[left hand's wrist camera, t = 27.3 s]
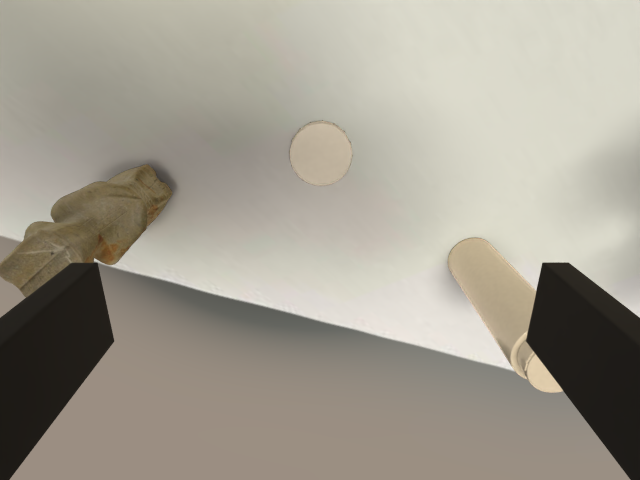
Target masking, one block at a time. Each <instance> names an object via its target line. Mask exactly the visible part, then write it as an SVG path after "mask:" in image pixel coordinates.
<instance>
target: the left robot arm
mask: <svg viewBox="0 0 640 480" xmlns="http://www.w3.org/2000/svg"><path fill="white" fill-rule="evenodd" d="M113 342H114V338H113V333H112V329H111V324H110V319H109V314H108V310H107V305H106V301H105V296H104V291H103V287H102V282H101V277H100V272H99V268H98V263H70V264H69V265H68V266H67V267H65V268H64V269H63V270H61V271H60V272H59V273H58V274H56V275H55V276H54V277H52V278H51V279H50V280H48V281H47V282H46V283H45V284H43V285H42V286H41V287H39V288H38V289H37V290H36V291H34V292H33V293H32V294H30V295H29V296H28V297H27V298H25V299H24V300H23V301H21V302H20V303H19V304H18V305H16V306H15V307H14V308H12V309H11V310H10V311H9V312H7V313H6V314H5V315H3V316H2V317H1V318H0V480H9V479H10V478H11V477H12V475H13V474H14V473H15V471H16V470H17V469H18V468H19V466H20V465H21V464H22V462H23V461H24V460H25V458H26V457H27V456H28V454H29V453H30V452H31V450H32V449H33V448H34V446H35V445H36V444H37V442H38V441H39V440H40V439H41V437H42V436H43V435H44V433H45V432H46V431H47V429H48V428H49V427H50V425H51V424H52V423H53V421H54V420H55V419H56V417H57V416H58V415H59V413H60V412H61V411H62V409H63V408H64V407H65V406H66V404H67V403H68V401H69V400H70V399H71V398H72V396H73V395H74V394H75V392H76V391H77V390H78V388H79V387H80V386H81V384H82V383H83V382H84V380H85V379H86V378H87V376H88V375H89V374H90V372H91V371H92V370H93V368H94V367H95V366H96V365H97V363H98V362H99V361H100V359H101V358H102V357H103V355H104V354H105V353H106V351H107V350H108V349H109V347H110V346H111V345H112V344H113ZM526 342H527V344H528V345H529V346H530V347H531V349H532V350H533V351H534V353H535V354H536V355H537V357H538V358H539V359H540V361H541V362H542V363H543V365H544V366H545V367H546V369H547V370H548V371H549V373H550V374H551V375H552V377H553V378H554V379H555V380H556V382H557V383H558V384H559V386H560V387H561V388H562V390H563V391H564V392H565V394H566V395H567V396H568V398H569V399H570V400H571V401H572V403H573V404H574V406H575V407H576V408H577V409H578V411H579V412H580V413H581V415H582V416H583V417H584V419H585V420H586V421H587V423H588V424H589V425H590V427H591V428H592V429H593V431H594V432H595V433H596V435H597V436H598V437H599V439H600V440H601V441H602V442H603V444H604V445H605V446H606V448H607V449H608V450H609V452H610V453H611V454H612V456H613V457H614V458H615V460H616V461H617V462H618V464H619V465H620V466H621V468H622V469H623V470H624V471H625V473H626V474H627V475H628V477H629V478H630V479H631V480H640V318H639V317H638V316H637V315H635V314H634V313H633V312H631V311H630V310H629V309H628V308H626V307H625V306H624V305H622V304H621V303H620V302H619V301H617V300H616V299H615V298H613V297H612V296H611V295H610V294H608V293H607V292H606V291H604V290H603V289H602V288H601V287H599V286H598V285H597V284H595V283H594V282H593V281H592V280H590V279H589V278H588V277H586V276H585V275H584V274H582V273H581V272H580V271H579V270H577V269H576V268H575V267H573V266H572V265H571V264H570V263H542V268H541V272H540V277H539V282H538V286H537V291H536V296H535V300H534V305H533V310H532V314H531V319H530V324H529V328H528V333H527V338H526Z"/></svg>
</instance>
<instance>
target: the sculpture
mask: <svg viewBox="0 0 640 480" xmlns="http://www.w3.org/2000/svg"><path fill="white" fill-rule="evenodd" d="M171 195H172V191H171V189H170V188H169V187H168V185H167V184H166V183H163V182H160V180H159V179H158V178H157V177H156V172H155V171H154V170H153V169H152V168H151V167H150V166H149V165H147V164H146V165H143V166H140V167H136V168H133V169H129V170H127V171H124V172H122V173H120V174H118V175H116V176H115V177H113V178H111V179H110V180H108V181H107V182H95V183H92V184H90V185H88V186H86V187H84V188H82V189H80V190H78V191H76V192H73V193H71V194H68V195H66V196H64V197H62V198H61V199H59V200H58V201H57V202H56V203H55V204H54V206H53V207H52V209H51V217H52V219H53V220H54V222H55V223H53V222H43V221H40V222H34V223H32V224H31V225H30V226H29V227H28V228H27V229H26V232H25V236H24V240H23V242H21V243H20V244H19V245H18V246H17V247H16V248H15V249H14V250H13V251H12V252H11V253H10V254H9V255H8V256H7V257H6V258H5V259H4V260H3V261H2V262H1V263H0V276H1V277H2V278H3V279H4V280H5V281H7V282H10V283H12V284H13V285H15V286H16V287H18V288H19V290H20V291H21V292H22V294H23V295H24V296H25V297H26V298H27V297H28V296H29V295H30V294H32V293H33V292H34V291H36V290H37V289H38V288H39V287H41V286H42V285H43V284H45V283H46V282H47V281H48V280H50V279H51V278H52V277H54V276H55V275H56V274H58V273H59V272H60V271H61V270H63V269H64V268H65V267H67V266H68V265H69V264H70V263H93V262H94V258H95V259H97V260H99V261H100V262H102V263H105V264H107V265H113V264H116V263H117V262H118V261H119V260H120V258H121V257H122V256H123V255H124V254H125V252H126V251H127V250H128V249H129V248H130V247H131V245H132V244H133V243H134V242H135V241H136V240H137V239H138V238H139V237H140V235H141V234H142V233H143V232H144V231H145V230H146V228H147V226H148V225H149V224H150V223H151V222H153V221H154V220H155V219H156V217H157V216H158V215H159V214H160V212H161V211H162V210H163V208H164V207H165V205H166V203H167V201H168V200H169V198H170V197H171Z"/></svg>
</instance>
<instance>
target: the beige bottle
mask: <svg viewBox="0 0 640 480" xmlns="http://www.w3.org/2000/svg"><path fill="white" fill-rule="evenodd" d="M448 267H449V270H450V272H451V273H452V275H453V276H454V278H455V279H456V281H457V282H458V284H459V285H460V287H461V289H462V290H463V292H464V293H465V295H466V296H467V298H468V299H469V301H470V303H471V304H472V306H473V307H474V309H475V310H476V312H477V313H478V315H479V316H480V318H481V320H482V321H483V323H484V324H485V326H486V327H487V329H488V330H489V332H490V333H491V335H492V337H493V338H494V340H495V341H496V343H497V344H498V346H499V347H500V349H501V350H502V352H503V354H504V355H505V357H506V358H507V360H508V361H509V363H510V364H511V366H512V367H513V369H514V370H515V372H516V373H517V374H518V375H520V376H521V377H523V378H525V379H528V380H529V382H530V383H531V384H532V385H533V386H534V387H535V388H537V389H538V390H541V391H544V392H561V391H563V390H562V388H561V387H560V386H559V384H558V383H557V382H556V380H555V379H554V378H553V377H552V375H551V374H550V373H549V371H548V370H547V369H546V367H545V366H544V365H543V363H542V362H541V361H540V359H539V358H538V357H537V355H536V354H535V353H534V351H533V350H532V349H531V347H530V346H529V345H528V344H527V342H526V338H527V333H528V328H529V324H530V319H531V314H532V310H533V305H534V300H535V296H536V290H535V289H534V288H533V287H532V286H531V285H530V284H529V283H528V282H527V281H526V280H525V279H524V278H523V277H522V276H521V275H520V274H519V273H518V272H517V271H516V270H515V269H514V268H513V267H512V266H511V264H510V263H509V262H508V261H507V260H506V259H505V258H504V257H503V256H502V255H501V254H500V253H499V252H498V251H497V250H496V249H495V248H494V247H493V246H492V245H491V244H490V243H489V242H487V241H486V240H484V239H480V238H469V239H465V240H463V241H461V242H459V243H458V244H457V245H456V246H455V247H454V248H453V249H452V251H451V252H450V254H449V257H448Z"/></svg>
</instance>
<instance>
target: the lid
mask: <svg viewBox="0 0 640 480" xmlns="http://www.w3.org/2000/svg"><path fill="white" fill-rule="evenodd" d="M289 154H290V161H291V166H292V167H293V169H294V171H295V173H296V174H297V175H298V176H299V177H300V178H301V179H302V180H304V181H305V182H307V183H309V184H312V185H317V186H325V185H330V184H333V183H335V182H337V181H338V180H340V179H341V178H342V177H343V176H344V175H345V174H346V172H347V171H348V169H349V167H350V164H351V160H352V157H353V155H352V149H351V142H350V141H349V140H348V138H347V136H346V134H345V131H343V130H342V129H340V128H339V127H338V126H336V125H335V123H334V124H333V123H330V122H325V121H323V120H322V121H316V122H312V123H311V122H310V123H309V124H307V125H305V126H304V127H302V128H300V129H299V131H298V133H297V134H296V135H295V137H294V138H293V139H292V144H291V148H290V151H289Z"/></svg>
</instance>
